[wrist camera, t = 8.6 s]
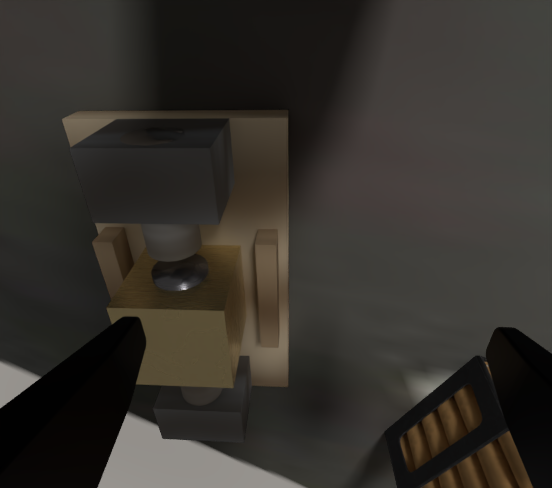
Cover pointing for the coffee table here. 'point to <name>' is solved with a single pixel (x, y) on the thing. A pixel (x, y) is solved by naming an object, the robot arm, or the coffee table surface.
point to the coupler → (187, 316)
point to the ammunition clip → (457, 437)
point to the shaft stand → (196, 230)
